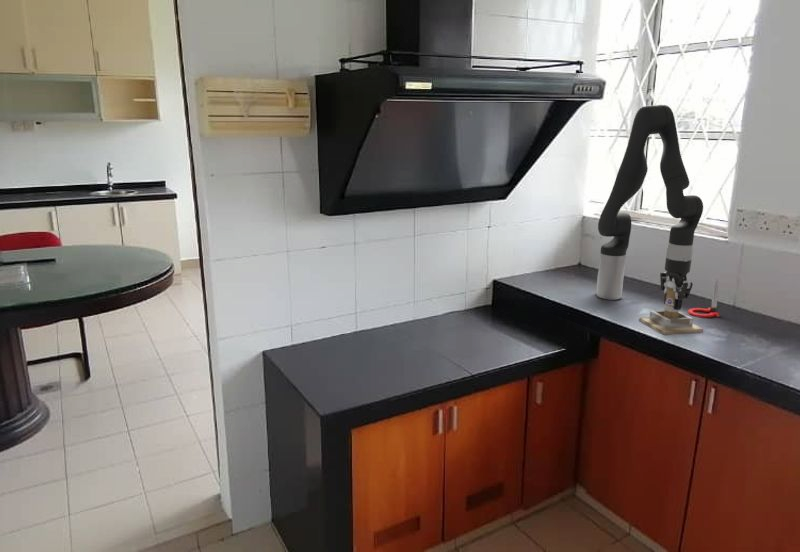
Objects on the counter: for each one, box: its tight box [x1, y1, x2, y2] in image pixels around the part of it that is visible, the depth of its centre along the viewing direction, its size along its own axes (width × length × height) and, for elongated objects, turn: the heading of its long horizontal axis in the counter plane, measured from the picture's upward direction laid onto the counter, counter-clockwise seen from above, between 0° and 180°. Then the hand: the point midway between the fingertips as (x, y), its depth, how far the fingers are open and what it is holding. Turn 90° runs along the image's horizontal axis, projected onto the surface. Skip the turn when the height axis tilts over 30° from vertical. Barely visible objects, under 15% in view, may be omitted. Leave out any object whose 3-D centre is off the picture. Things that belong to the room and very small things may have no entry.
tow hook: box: [687, 278, 721, 318], centre depth 203 cm, size 8×13×9 cm
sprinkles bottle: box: [664, 281, 682, 319], centre depth 191 cm, size 5×5×13 cm
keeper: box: [638, 309, 704, 336], centre depth 192 cm, size 14×14×4 cm
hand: (672, 306), depth 191 cm, fingers open, 4 cm apart
